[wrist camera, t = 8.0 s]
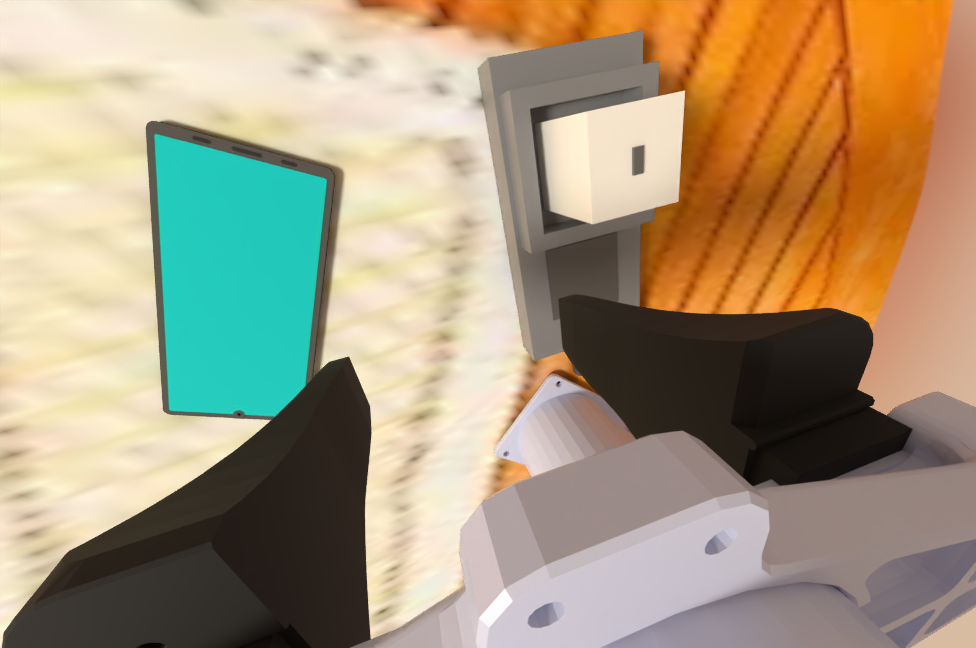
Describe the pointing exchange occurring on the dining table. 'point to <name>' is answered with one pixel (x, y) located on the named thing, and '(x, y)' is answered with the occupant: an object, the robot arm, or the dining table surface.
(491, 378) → the dining table surface
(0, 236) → the dining table surface
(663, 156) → the block
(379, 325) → the dining table surface
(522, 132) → the power strip
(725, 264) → the dining table surface
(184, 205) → the smartphone
